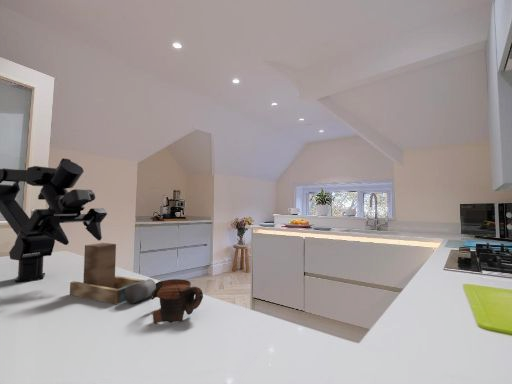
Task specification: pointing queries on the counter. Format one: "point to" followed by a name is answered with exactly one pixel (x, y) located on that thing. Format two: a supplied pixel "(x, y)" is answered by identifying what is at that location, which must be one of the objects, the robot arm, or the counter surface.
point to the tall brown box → (100, 264)
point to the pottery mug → (175, 300)
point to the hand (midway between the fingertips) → (84, 241)
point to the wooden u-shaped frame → (115, 290)
